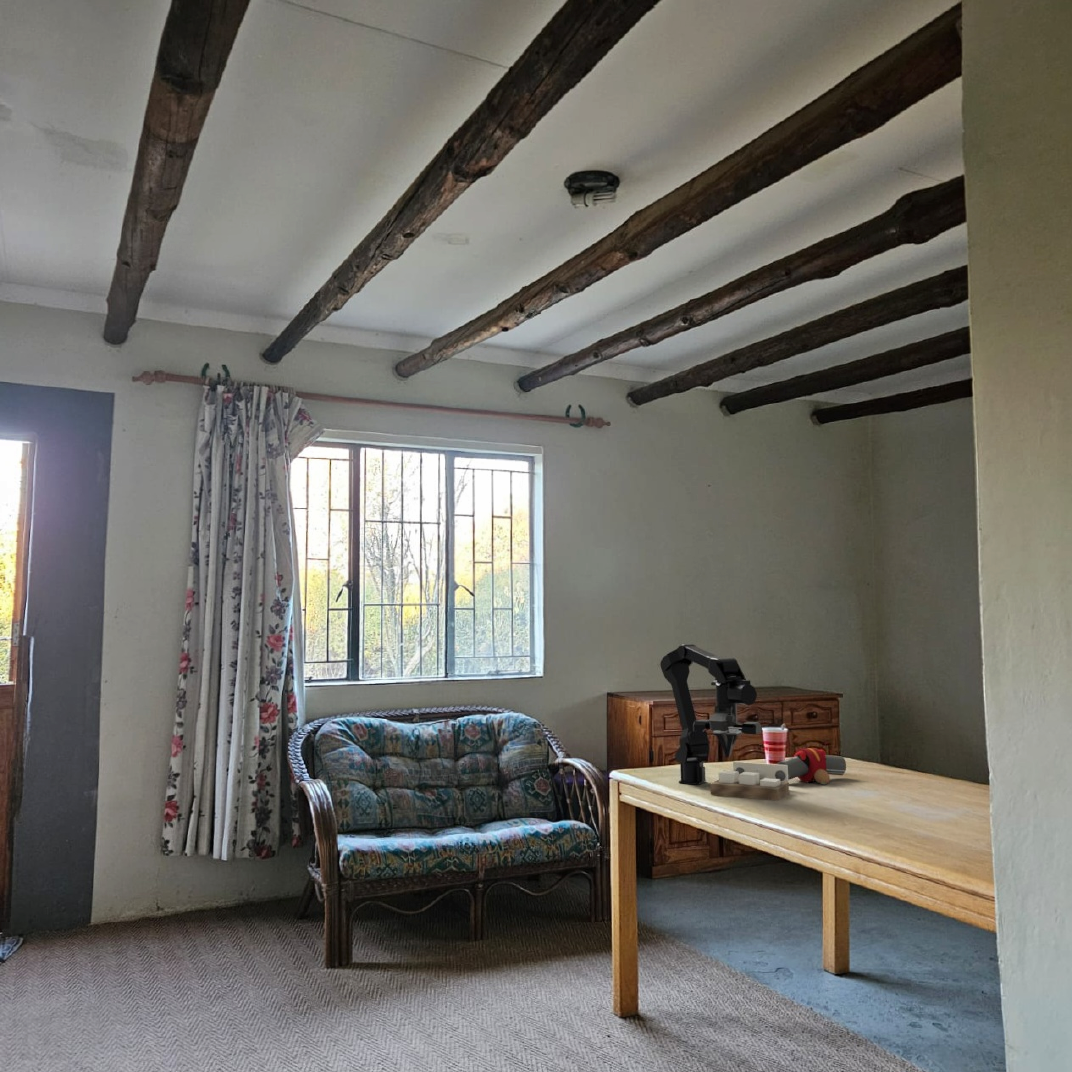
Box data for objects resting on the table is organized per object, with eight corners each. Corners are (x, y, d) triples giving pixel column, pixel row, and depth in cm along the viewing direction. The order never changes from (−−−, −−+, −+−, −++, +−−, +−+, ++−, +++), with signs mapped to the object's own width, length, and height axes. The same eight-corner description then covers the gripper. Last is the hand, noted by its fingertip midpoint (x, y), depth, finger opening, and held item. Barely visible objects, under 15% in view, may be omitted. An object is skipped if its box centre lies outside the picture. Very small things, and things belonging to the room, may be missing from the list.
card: (733, 786, 270) (732, 761, 271) (734, 785, 271) (733, 761, 272) (787, 790, 262) (786, 765, 263) (788, 789, 263) (787, 765, 263)
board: (710, 794, 258) (710, 783, 259) (724, 787, 268) (723, 777, 268) (777, 800, 248) (776, 789, 249) (789, 793, 258) (788, 782, 258)
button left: (719, 787, 261) (718, 772, 261) (724, 784, 264) (723, 770, 265) (734, 788, 258) (733, 773, 259) (739, 785, 262) (738, 771, 262)
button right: (760, 795, 254) (760, 780, 255) (765, 792, 258) (764, 778, 258) (776, 796, 252) (775, 781, 252) (780, 793, 256) (780, 779, 256)
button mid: (739, 788, 258) (738, 774, 258) (744, 786, 261) (744, 771, 262) (754, 790, 255) (754, 775, 256) (759, 787, 259) (759, 773, 259)
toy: (767, 787, 278) (799, 795, 265) (761, 753, 279) (792, 759, 265) (826, 770, 287) (860, 776, 274) (820, 737, 288) (853, 742, 274)
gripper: (684, 703, 261) (686, 759, 260) (748, 706, 252) (750, 764, 250) (699, 700, 271) (701, 753, 270) (761, 702, 261) (763, 758, 260)
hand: (727, 757), depth 262 cm, fingers closed
